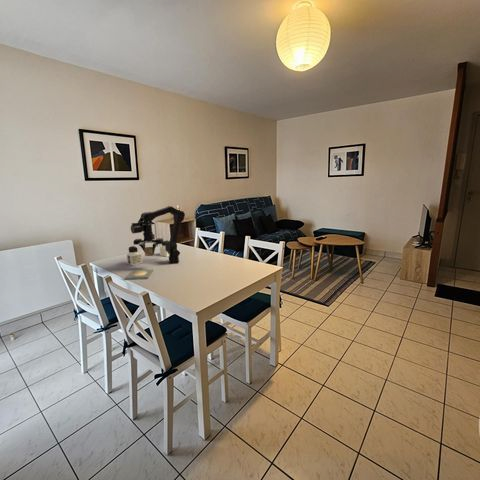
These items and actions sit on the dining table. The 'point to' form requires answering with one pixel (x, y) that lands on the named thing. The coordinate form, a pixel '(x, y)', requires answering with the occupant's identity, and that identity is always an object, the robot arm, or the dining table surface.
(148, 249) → the cube
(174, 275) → the dining table surface
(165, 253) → the medicine bottle
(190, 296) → the dining table surface
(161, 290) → the dining table surface
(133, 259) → the container
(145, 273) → the coaster
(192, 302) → the dining table surface
